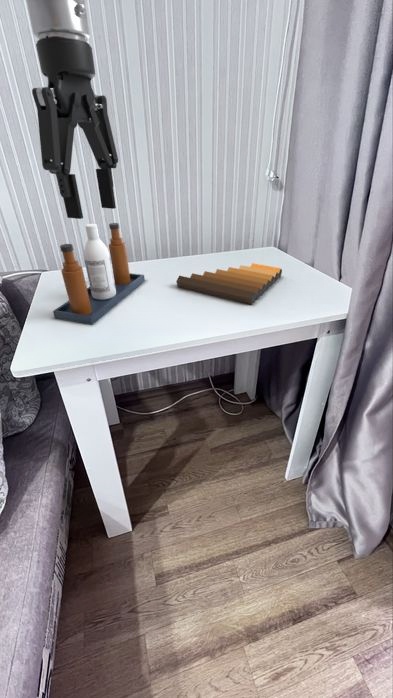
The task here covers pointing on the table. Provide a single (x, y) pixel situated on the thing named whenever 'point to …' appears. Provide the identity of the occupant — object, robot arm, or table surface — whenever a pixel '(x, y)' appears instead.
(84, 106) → the robot arm
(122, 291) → the tray
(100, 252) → the bath foam
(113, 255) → the amber bottle far
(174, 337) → the table surface
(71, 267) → the amber bottle near
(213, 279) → the pan flute
